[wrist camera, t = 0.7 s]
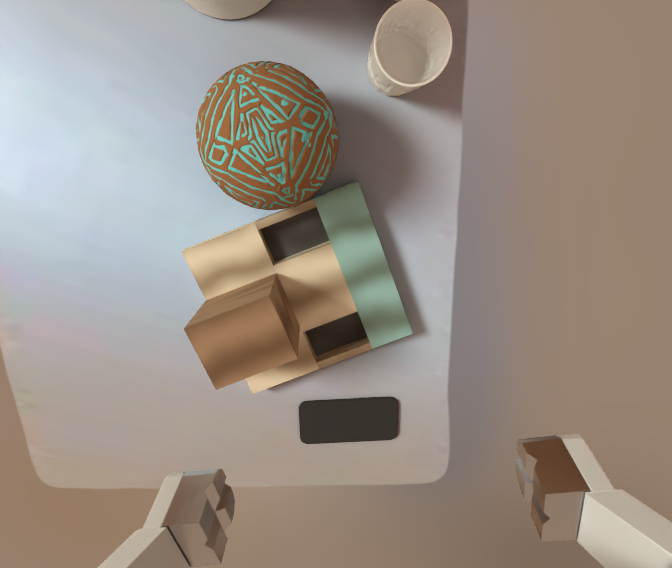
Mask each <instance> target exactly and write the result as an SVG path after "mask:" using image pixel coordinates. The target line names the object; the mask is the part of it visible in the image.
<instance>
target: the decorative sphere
mask: <svg viewBox="0 0 672 568" xmlns="http://www.w3.org/2000/svg"><path fill="white" fill-rule="evenodd" d="M196 135H197V139H198V142H197V144H198V150H199V154H200V157H201V160H202V162H203V165H204V167H205V169H206V170H207V172H208V174H209V175H210V177H211V178H212V180H213V181H214V182H215V183H216V184H217V185H218V186H219V187H220V188H221V189H222V190H223V192H225V193H226V194H227V195H229V196H230V197H232V198H233V199H235V200H237V201H239V202H241V203H243V204H245V205H248V206H250V207H253V208H256V209H264V210H277V209H285V208H289V207H292V206H295V205H297V204H299V203H301V202H304V201H305V200H307V199H308V198H309V197H311V196H312V195H313V194H314V193H315V192H316V191H318V190H319V189H320V188H321V186H322V185H323V184H324V182H325V181H326V180H327V178H328V176H329V174H330V173H331V171H332V168H333V166H334V163H335V160H336V156H337V150H338V130H337V122H336V118H335V116H334V112H333V110H332V108H331V105H330V103H329V101H328V100H327V99H326V97H325V95H324V93H323V92H322V91H321V90H320V89H319V87H318V86H317V85H316V84H315V83H314V82H313V81H312V80H311V79H309V78H308V77H307V76H305V75H304V74H303V73H301V72H300V71H298V70H296V69H295V68H293V67H291V66H288V65H285V64H281V63H275V62H270V61H267V62H264V61H260V62H250V63H247V64H243V65H240V66H238V67H236V68H234V69H232V70H230V71H228V72H227V73H225V74H224V75H222V76H221V77H220V78H219V79H218V80H217V81H216V82H215V83H214V84H213V85H212V87H211V88H210V89H209V91H208V92H207V95H206V96H205V97H204V99H203V101H202V105H201V107H200V109H199V113H198V119H197V124H196Z"/></svg>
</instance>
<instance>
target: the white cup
mask: <svg viewBox="0 0 672 568" xmlns="http://www.w3.org/2000/svg"><path fill="white" fill-rule="evenodd" d="M452 44H453V37H452V30H451V27H450V24H449V21H448V19H447V17H446V16H445V14H444V13H443V11H442V10H441V9H440V8H439V7H438V6H436V5H435V4H434V3H432V2H430V1H428V0H401V1H399V2H397V3H395V4H394V5H392V6H391V7H390V8H389V9H388V10H387V11H386V12H385V13H384V15H383V16H382V17H381V19H380V21H379V23H378V25H377V28H376V31H375V34H374V37H373V40H372V43H371V46H370V50H369V56H368V62H367V70H368V76H369V80H370V81H371V82H372V84H373V85H374V87H375V88H376V90H378V91H380V92H382V93H383V94H385V95H387V96H400V95H402V94H405V93H409V92H411V91H413V90H416V89H418V88H420V87H422V86H424V85H426V84H428V83H429V82H431V81H433V80H434V79H435V78H437V77H438V76H439V75H440V74H441V72H442V71H443V70H444V68H445V67H446V65H447V63H448V61H449V58H450V55H451V51H452Z"/></svg>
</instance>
